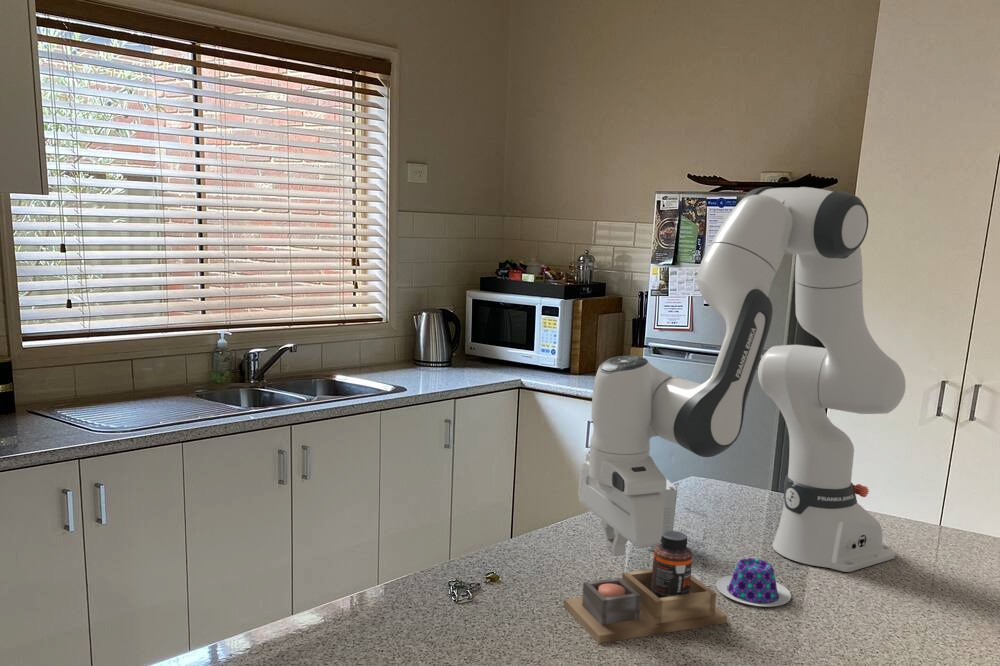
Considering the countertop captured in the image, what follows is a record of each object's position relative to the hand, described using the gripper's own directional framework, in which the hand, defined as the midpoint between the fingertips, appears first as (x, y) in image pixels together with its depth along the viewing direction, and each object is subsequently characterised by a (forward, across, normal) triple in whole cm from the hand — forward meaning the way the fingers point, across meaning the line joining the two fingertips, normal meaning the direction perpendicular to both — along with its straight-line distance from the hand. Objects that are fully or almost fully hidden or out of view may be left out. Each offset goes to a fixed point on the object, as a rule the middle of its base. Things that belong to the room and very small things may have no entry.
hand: (614, 552), depth 126 cm
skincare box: (+12, -24, +22) cm, 34 cm away
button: (+9, +1, -1) cm, 9 cm away
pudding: (+12, -2, +27) cm, 30 cm away
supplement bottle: (+10, 0, +10) cm, 14 cm away
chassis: (+11, 0, +5) cm, 12 cm away
